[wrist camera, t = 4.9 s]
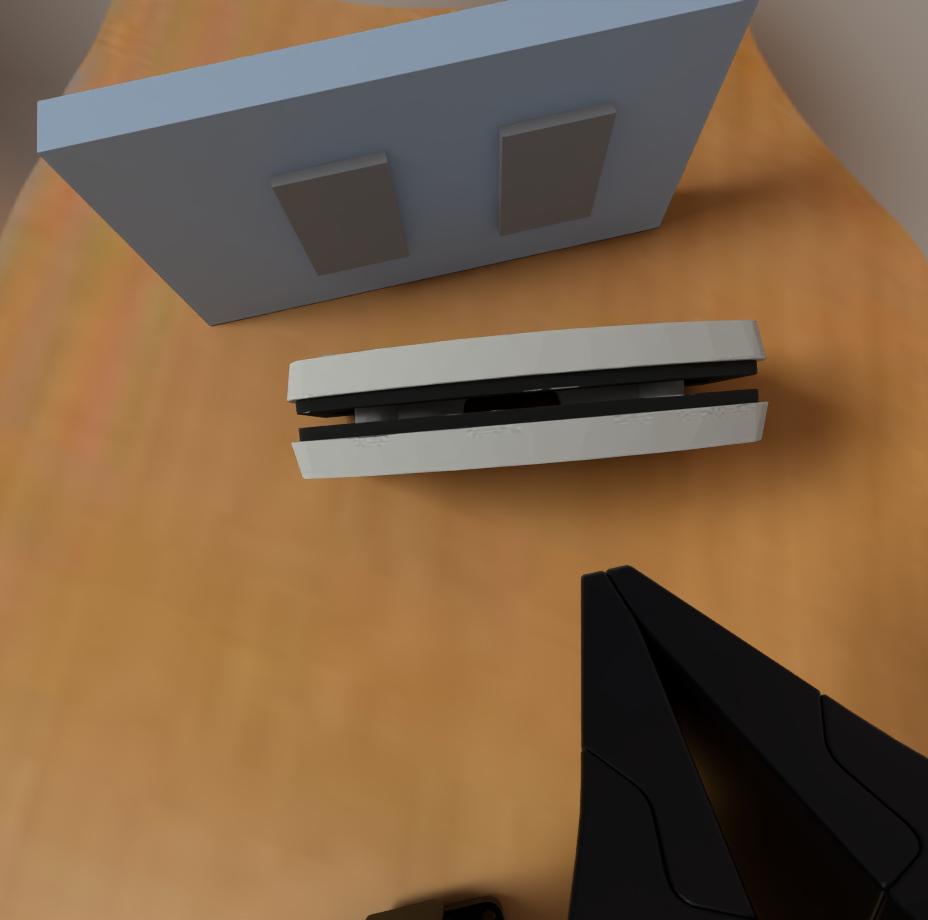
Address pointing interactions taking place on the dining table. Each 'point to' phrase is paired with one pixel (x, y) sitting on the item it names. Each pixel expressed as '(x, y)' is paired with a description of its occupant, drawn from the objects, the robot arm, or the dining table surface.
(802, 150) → the dining table surface
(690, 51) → the cabinet side panel
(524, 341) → the white black-striped curved device
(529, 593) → the dining table surface
